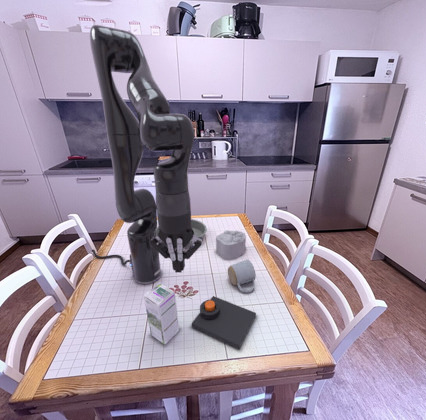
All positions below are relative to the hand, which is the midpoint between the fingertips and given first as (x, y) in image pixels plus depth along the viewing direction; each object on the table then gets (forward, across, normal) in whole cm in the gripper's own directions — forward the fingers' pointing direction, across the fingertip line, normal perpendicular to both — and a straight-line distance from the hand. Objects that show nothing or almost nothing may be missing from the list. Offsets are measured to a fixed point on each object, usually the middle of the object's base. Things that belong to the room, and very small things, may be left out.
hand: (179, 270), depth 60 cm
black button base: (+20, -12, -2) cm, 23 cm away
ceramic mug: (+20, -18, -19) cm, 33 cm away
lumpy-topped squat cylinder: (+20, -13, -40) cm, 46 cm away
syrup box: (+20, +5, +3) cm, 20 cm away
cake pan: (+20, +12, -50) cm, 55 cm away
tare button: (+16, -7, -4) cm, 18 cm away
